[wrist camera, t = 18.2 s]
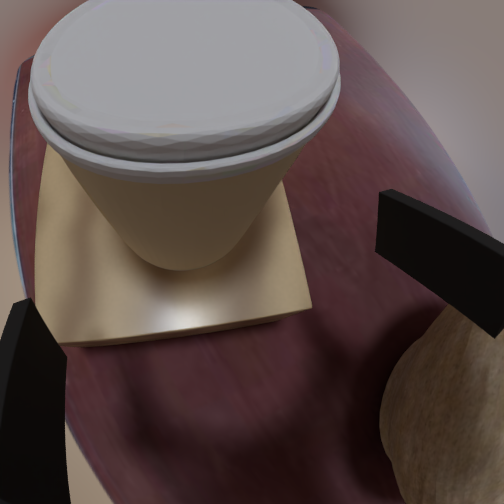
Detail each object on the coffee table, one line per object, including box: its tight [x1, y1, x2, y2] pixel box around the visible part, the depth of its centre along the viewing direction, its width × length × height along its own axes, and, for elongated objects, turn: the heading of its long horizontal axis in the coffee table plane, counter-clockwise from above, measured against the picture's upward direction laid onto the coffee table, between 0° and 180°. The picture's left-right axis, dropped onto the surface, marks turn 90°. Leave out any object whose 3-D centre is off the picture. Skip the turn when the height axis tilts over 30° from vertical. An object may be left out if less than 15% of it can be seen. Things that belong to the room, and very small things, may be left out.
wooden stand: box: [35, 143, 312, 347], centre depth 21 cm, size 16×14×8 cm
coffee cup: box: [28, 0, 341, 271], centre depth 12 cm, size 9×9×12 cm
